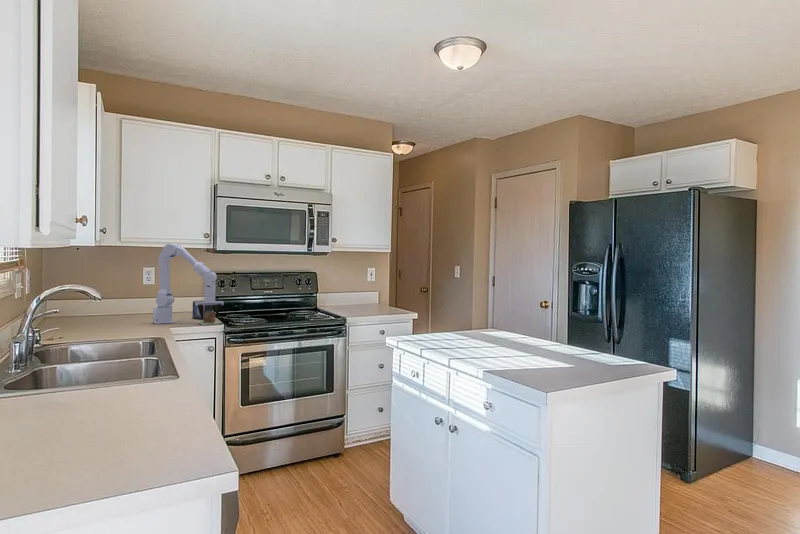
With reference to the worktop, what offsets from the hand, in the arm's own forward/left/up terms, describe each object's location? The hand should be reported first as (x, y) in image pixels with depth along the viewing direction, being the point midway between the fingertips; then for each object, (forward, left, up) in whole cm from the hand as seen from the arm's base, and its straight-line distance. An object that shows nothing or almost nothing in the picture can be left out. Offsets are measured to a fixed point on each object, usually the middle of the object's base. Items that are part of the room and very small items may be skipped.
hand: (209, 318), depth 270 cm
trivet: (0, 0, -3) cm, 3 cm away
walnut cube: (0, 0, -2) cm, 2 cm away
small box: (+2, +22, -3) cm, 23 cm away
